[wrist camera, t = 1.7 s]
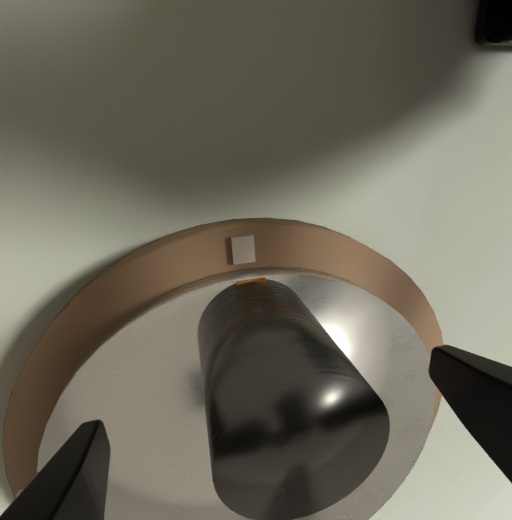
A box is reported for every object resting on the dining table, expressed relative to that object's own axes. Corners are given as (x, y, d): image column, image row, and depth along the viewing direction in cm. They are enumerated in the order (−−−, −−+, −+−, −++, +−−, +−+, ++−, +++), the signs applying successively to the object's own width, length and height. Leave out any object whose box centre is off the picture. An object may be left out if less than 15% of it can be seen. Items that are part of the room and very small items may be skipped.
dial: (401, 508, 19) (492, 654, 14) (102, 605, 16) (63, 848, 10) (444, 240, 13) (634, 308, 8) (-22, 306, 10) (-269, 506, 4)
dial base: (450, 195, 14) (483, 201, 13) (403, 492, 21) (421, 519, 20) (-62, 251, 11) (-104, 269, 9) (86, 591, 18) (77, 634, 16)
